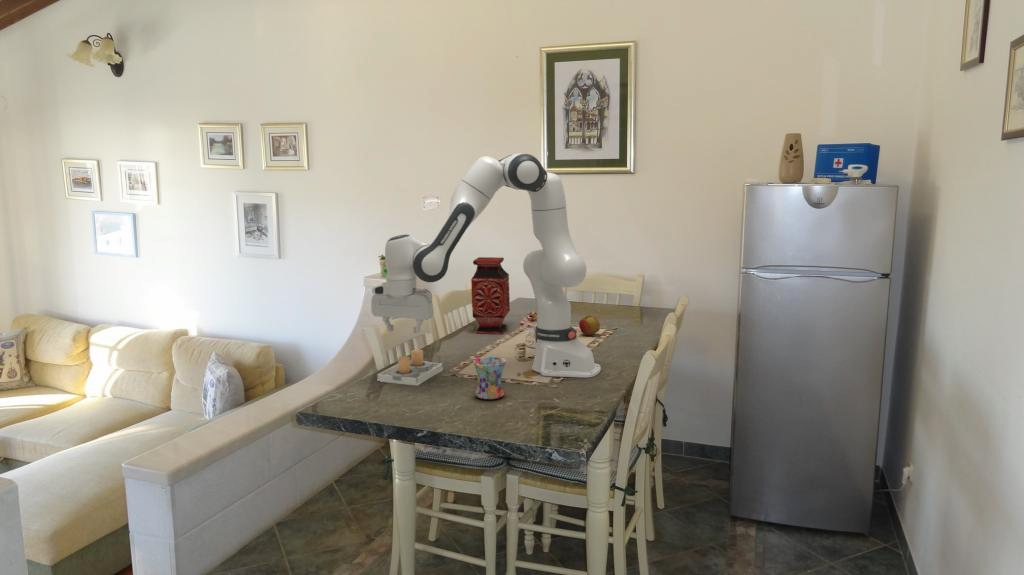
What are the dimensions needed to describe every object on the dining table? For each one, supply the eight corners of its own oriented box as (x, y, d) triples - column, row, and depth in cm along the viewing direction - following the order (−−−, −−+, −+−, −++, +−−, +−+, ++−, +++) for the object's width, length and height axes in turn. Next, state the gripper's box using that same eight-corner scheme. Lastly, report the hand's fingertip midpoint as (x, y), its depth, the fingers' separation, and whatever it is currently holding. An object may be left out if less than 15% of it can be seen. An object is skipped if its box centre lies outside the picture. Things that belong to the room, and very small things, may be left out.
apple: (585, 332, 275) (585, 313, 273) (602, 335, 270) (603, 315, 269) (575, 336, 268) (575, 316, 267) (593, 338, 264) (593, 318, 262)
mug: (502, 402, 190) (501, 366, 188) (470, 400, 191) (469, 364, 190) (510, 389, 201) (510, 355, 200) (480, 387, 203) (479, 353, 201)
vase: (478, 327, 286) (477, 256, 281) (510, 327, 284) (509, 256, 279) (471, 334, 272) (470, 260, 267) (505, 335, 270) (504, 261, 266)
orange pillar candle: (407, 378, 210) (406, 359, 209) (396, 377, 211) (395, 358, 210) (413, 375, 213) (412, 356, 212) (402, 374, 214) (401, 355, 213)
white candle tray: (443, 370, 222) (442, 349, 221) (417, 385, 206) (416, 363, 205) (405, 366, 227) (404, 346, 226) (377, 381, 210) (376, 359, 209)
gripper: (436, 287, 207) (438, 331, 209) (378, 285, 214) (380, 327, 216) (426, 290, 201) (428, 336, 203) (367, 288, 208) (370, 332, 211)
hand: (403, 331), depth 210 cm, fingers open, 8 cm apart
